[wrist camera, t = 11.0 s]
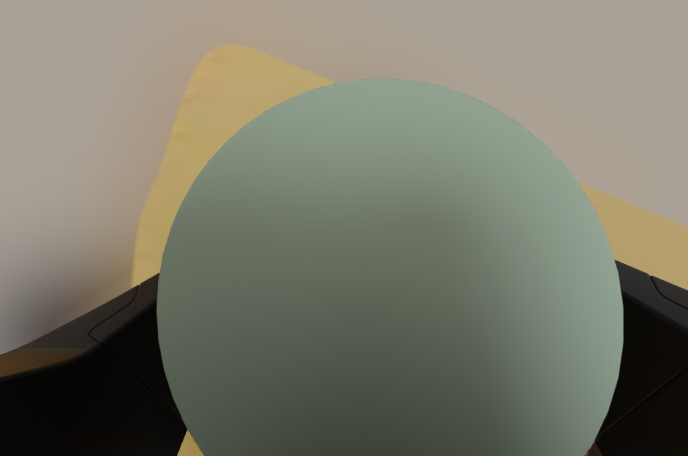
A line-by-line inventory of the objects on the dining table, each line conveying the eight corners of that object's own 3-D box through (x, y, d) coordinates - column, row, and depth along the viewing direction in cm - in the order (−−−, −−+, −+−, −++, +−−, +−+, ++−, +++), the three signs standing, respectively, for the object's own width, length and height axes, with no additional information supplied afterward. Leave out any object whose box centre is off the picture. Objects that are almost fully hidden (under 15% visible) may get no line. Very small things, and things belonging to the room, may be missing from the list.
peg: (358, 331, 16) (269, 718, 2) (319, 263, 17) (81, 205, 3) (425, 290, 16) (794, 385, 2) (382, 225, 17) (433, -9, 3)
